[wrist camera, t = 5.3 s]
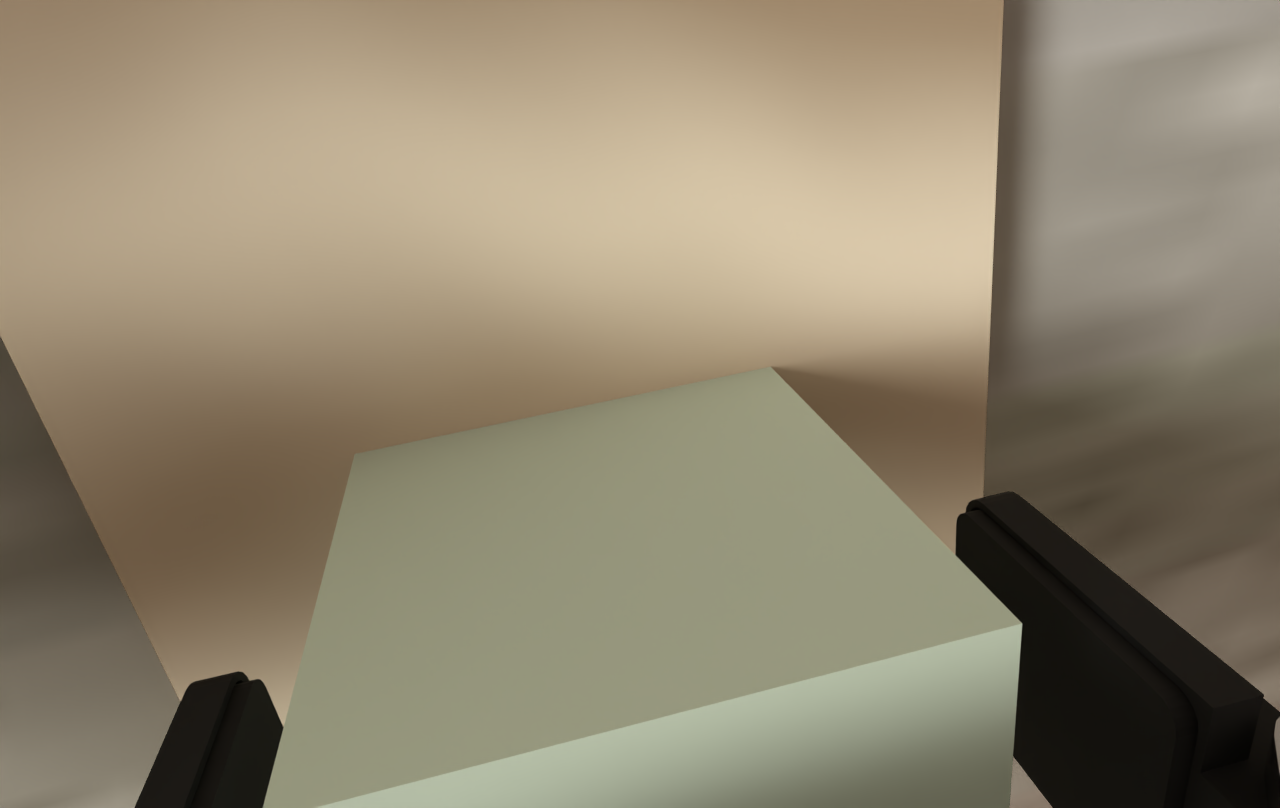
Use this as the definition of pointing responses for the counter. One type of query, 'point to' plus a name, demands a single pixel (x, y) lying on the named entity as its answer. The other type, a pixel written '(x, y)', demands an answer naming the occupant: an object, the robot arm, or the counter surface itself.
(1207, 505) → the counter surface
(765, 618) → the sage block
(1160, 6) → the counter surface
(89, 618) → the counter surface
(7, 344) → the board
